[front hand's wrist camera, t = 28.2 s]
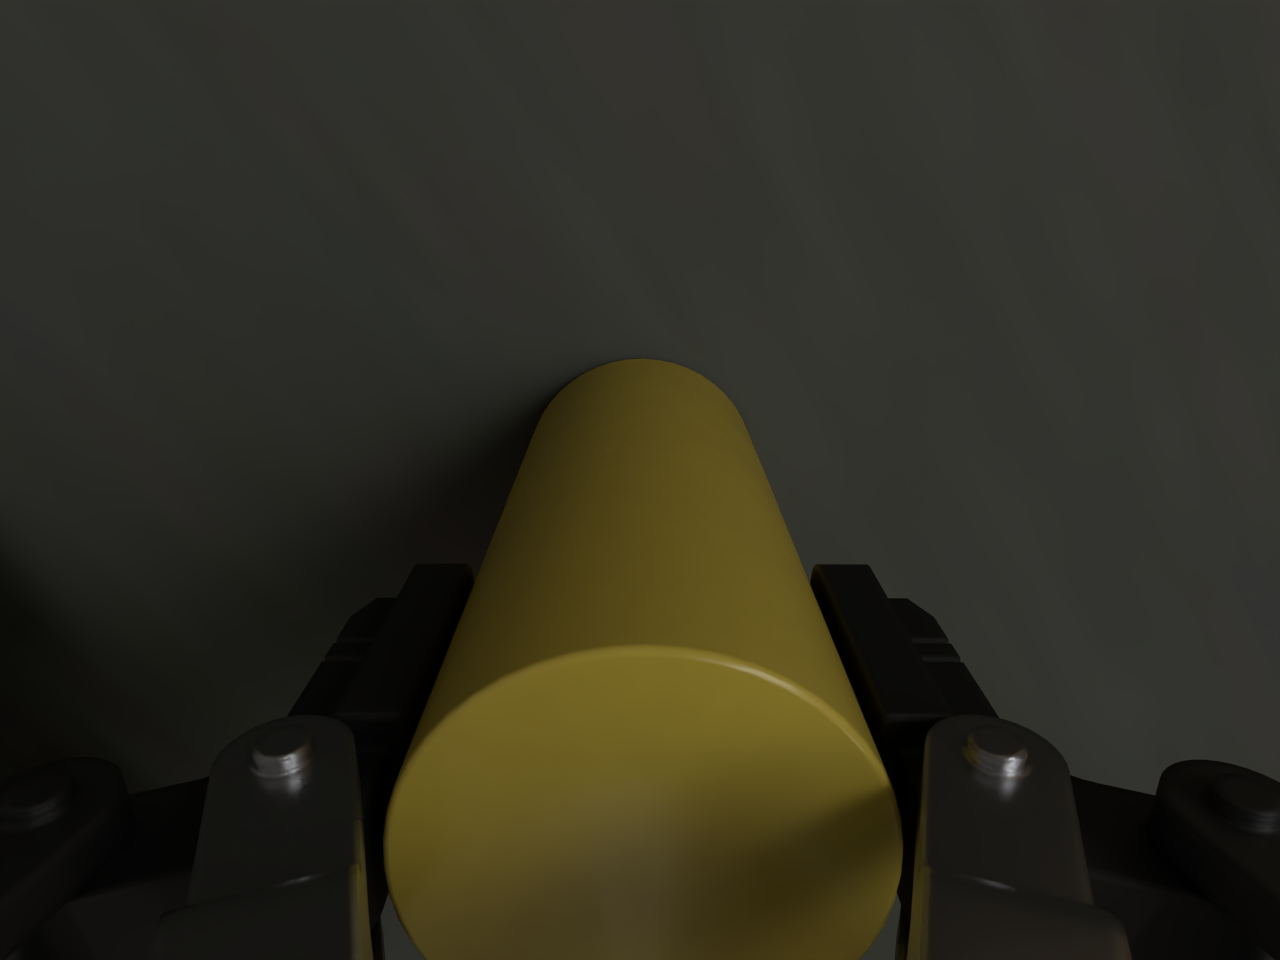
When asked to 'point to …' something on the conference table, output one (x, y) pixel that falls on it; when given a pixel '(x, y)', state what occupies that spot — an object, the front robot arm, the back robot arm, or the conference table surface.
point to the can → (642, 713)
